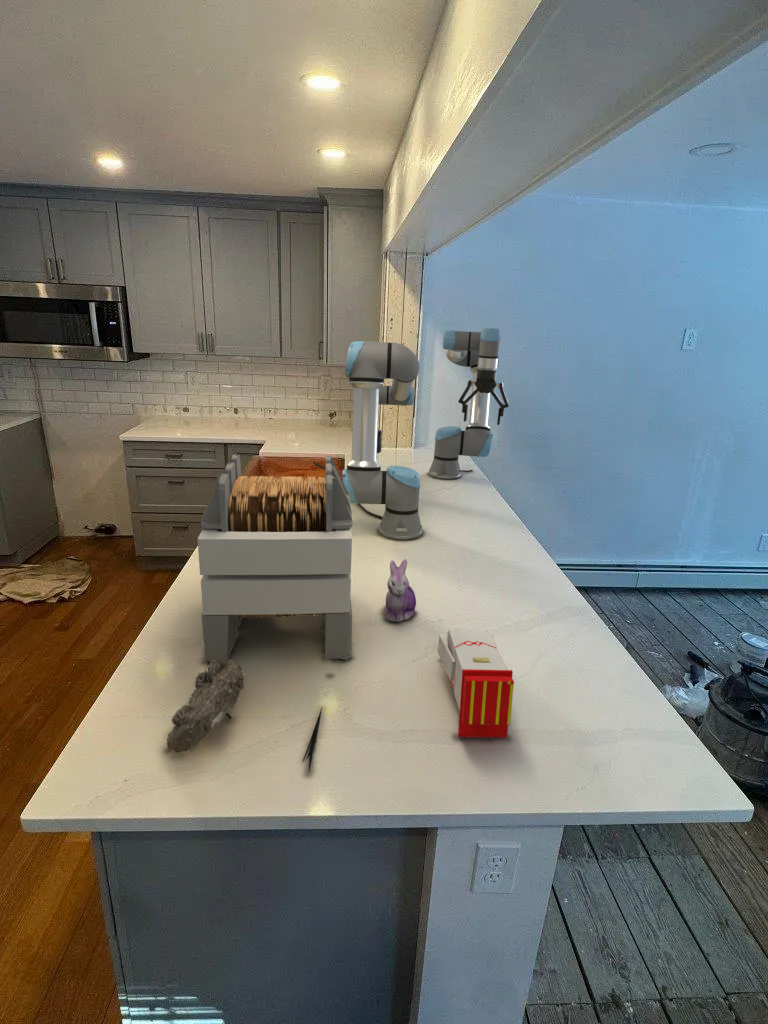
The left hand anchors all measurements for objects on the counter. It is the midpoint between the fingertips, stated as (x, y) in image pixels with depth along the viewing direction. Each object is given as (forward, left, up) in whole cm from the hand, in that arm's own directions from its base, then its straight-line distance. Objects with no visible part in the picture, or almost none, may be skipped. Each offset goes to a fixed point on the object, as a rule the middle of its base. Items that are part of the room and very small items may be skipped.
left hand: (365, 467), depth 247 cm
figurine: (+91, -62, -9) cm, 111 cm away
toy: (+124, -72, -9) cm, 143 cm away
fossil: (+99, -117, -9) cm, 153 cm away
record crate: (+77, -88, -9) cm, 118 cm away
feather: (+112, -101, -9) cm, 151 cm away
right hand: (+38, +29, +24) cm, 53 cm away
